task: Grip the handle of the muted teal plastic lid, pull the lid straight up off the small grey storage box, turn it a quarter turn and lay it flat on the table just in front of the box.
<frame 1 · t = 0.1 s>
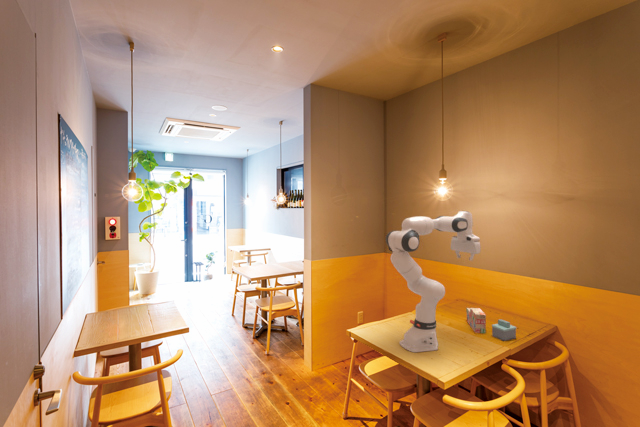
hand: (464, 259, 194), 48 cm above the table, tool pointing down, fingers open, 8 cm apart
storage box: (503, 337, 191), on the table
lid: (503, 329, 191), point 5 cm above the table, touching storage box
stack of blocks: (475, 327, 208), on the table
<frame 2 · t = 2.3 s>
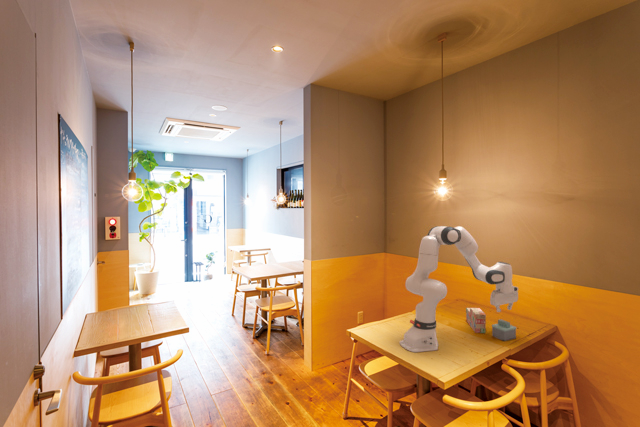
hand: (504, 310, 191), 16 cm above the table, tool pointing down, fingers open, 8 cm apart
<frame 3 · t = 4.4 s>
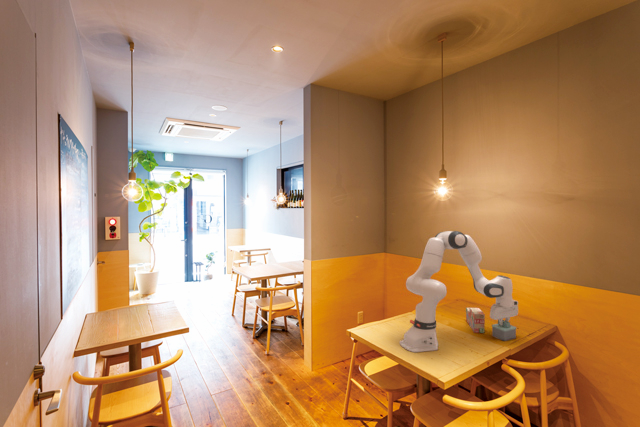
hand: (503, 324, 191), 8 cm above the table, tool pointing down, fingers closed on lid, 3 cm apart
lid: (503, 329, 191), point 5 cm above the table, touching gripper, storage box
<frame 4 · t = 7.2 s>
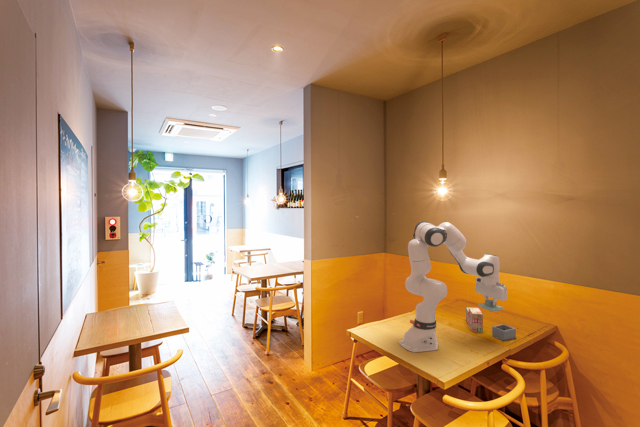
hand: (490, 304, 186), 22 cm above the table, tool pointing down, fingers closed on lid, 3 cm apart
lid: (490, 309, 186), point 19 cm above the table, touching gripper
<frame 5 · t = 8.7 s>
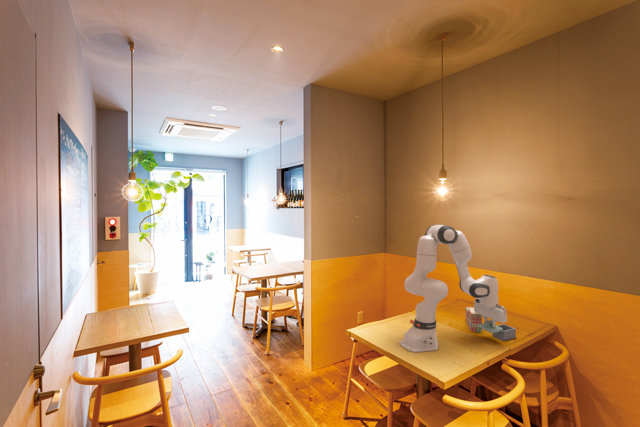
hand: (489, 325, 187), 9 cm above the table, tool pointing down, fingers closed on lid, 3 cm apart
lid: (489, 330, 187), point 6 cm above the table, touching gripper
when the fingers open (5 cm above the table, at t = 10.0 s): lid drops 1 cm, on the table.
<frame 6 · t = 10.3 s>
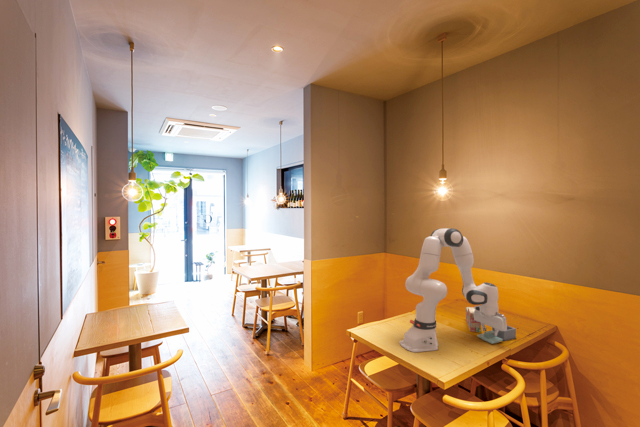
hand: (489, 332, 187), 5 cm above the table, tool pointing down, fingers open, 6 cm apart
lid: (489, 340, 187), on the table
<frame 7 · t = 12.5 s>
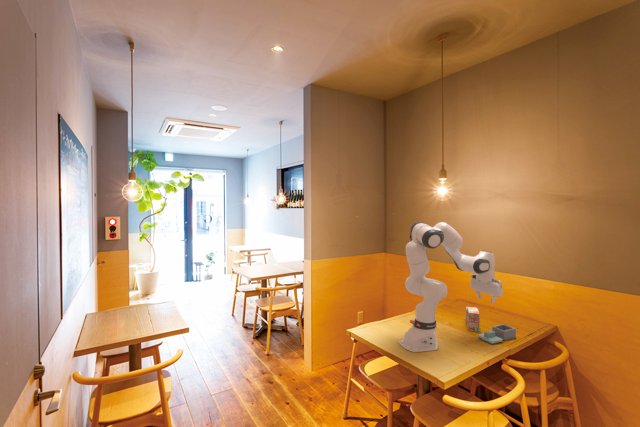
hand: (486, 300, 188), 24 cm above the table, tool pointing down, fingers open, 8 cm apart
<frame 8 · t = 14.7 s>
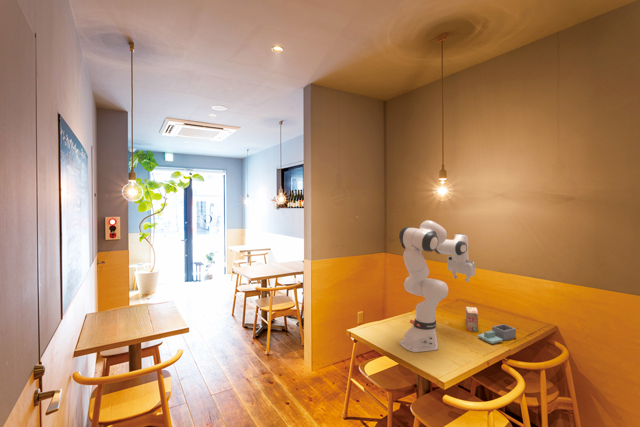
hand: (461, 280, 201), 33 cm above the table, tool pointing down, fingers open, 8 cm apart
at the end: lid inside the target area (0.1 cm from its centre), on the table; lid tilted 0°; the gripper is holding nothing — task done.
